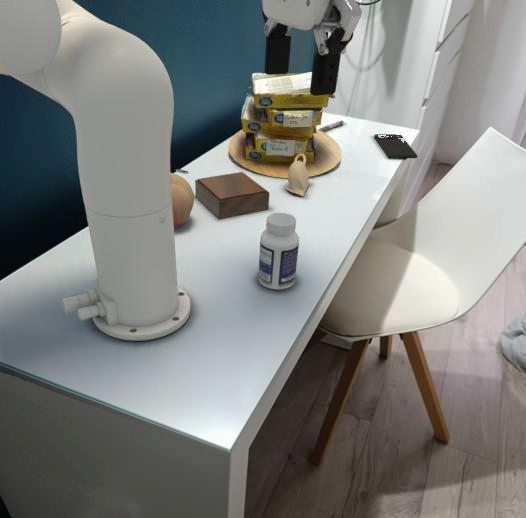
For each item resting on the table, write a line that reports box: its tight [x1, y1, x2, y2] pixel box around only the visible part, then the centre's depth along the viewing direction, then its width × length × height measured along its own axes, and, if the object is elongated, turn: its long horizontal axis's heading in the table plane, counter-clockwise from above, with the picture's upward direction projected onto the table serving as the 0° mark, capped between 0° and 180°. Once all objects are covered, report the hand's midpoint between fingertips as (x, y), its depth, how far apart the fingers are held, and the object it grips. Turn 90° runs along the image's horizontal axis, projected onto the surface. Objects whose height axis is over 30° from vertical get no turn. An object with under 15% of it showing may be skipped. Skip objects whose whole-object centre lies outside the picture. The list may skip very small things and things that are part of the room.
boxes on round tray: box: [228, 71, 342, 179], centre depth 107 cm, size 25×25×17 cm
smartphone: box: [373, 133, 418, 159], centre depth 121 cm, size 7×1×15 cm
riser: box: [194, 171, 270, 220], centre depth 91 cm, size 10×10×4 cm
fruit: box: [170, 172, 195, 228], centre depth 83 cm, size 8×8×8 cm
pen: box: [317, 120, 344, 133], centre depth 129 cm, size 1×14×1 cm
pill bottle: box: [257, 212, 300, 290], centre depth 70 cm, size 5×5×10 cm
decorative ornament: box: [285, 154, 310, 197], centre depth 98 cm, size 4×8×5 cm, turn 164°
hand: (298, 83), depth 59 cm, fingers open, 9 cm apart
